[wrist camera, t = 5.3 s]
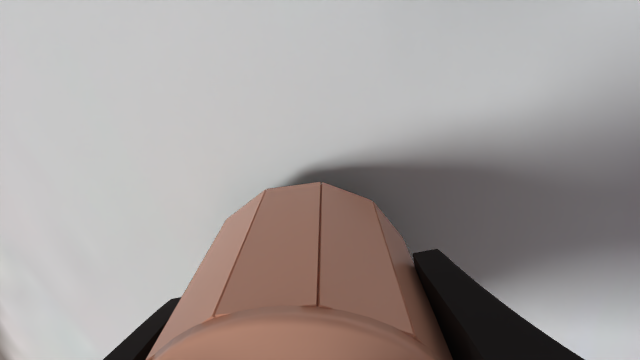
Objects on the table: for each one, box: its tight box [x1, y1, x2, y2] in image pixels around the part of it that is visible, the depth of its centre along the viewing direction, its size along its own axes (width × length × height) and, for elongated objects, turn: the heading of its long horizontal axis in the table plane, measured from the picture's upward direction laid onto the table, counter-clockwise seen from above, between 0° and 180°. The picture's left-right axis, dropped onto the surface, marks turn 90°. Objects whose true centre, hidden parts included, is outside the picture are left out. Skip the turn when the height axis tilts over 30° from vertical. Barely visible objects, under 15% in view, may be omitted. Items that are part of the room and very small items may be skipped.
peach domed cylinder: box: [146, 182, 453, 360], centre depth 8 cm, size 6×6×5 cm
